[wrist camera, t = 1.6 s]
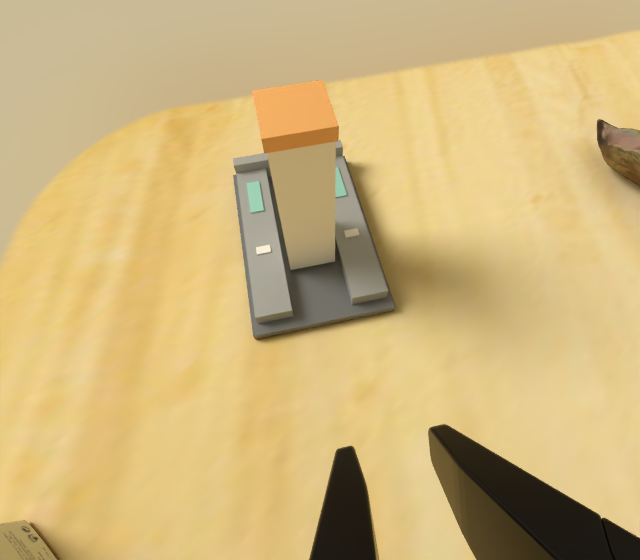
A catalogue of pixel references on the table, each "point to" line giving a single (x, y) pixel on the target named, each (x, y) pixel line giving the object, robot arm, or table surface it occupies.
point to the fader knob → (301, 167)
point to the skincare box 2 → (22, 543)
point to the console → (309, 282)
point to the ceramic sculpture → (620, 149)
